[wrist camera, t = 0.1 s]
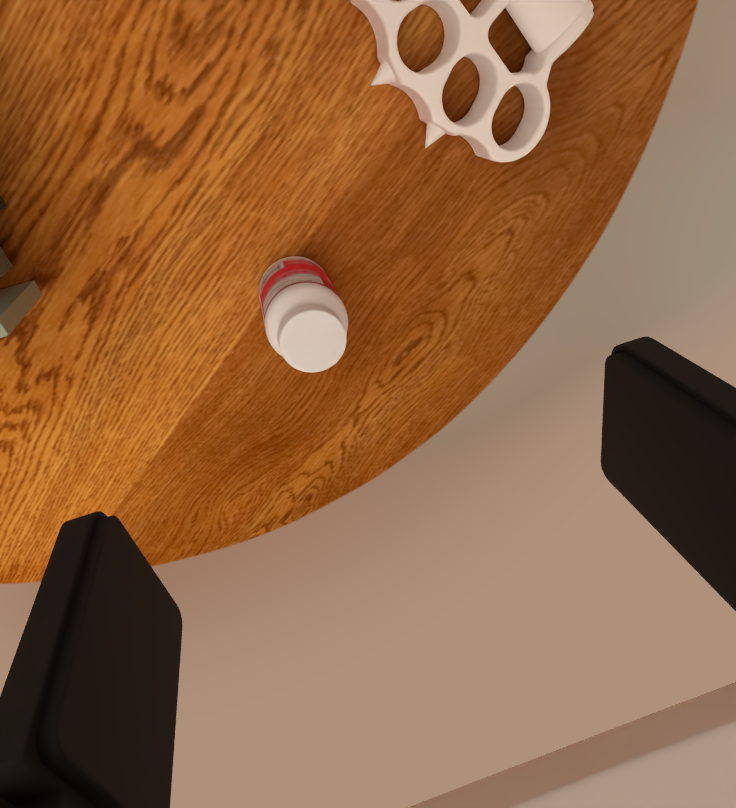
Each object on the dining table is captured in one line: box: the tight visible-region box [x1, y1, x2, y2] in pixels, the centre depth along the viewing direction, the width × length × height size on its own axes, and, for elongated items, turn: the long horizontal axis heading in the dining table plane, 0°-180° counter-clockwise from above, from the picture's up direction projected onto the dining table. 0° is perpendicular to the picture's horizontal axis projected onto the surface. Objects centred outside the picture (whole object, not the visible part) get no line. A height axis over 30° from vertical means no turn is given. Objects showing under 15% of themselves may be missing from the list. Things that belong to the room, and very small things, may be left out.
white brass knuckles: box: [350, 0, 594, 162], centre depth 37 cm, size 3×18×15 cm
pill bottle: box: [259, 256, 348, 372], centre depth 41 cm, size 6×6×11 cm
